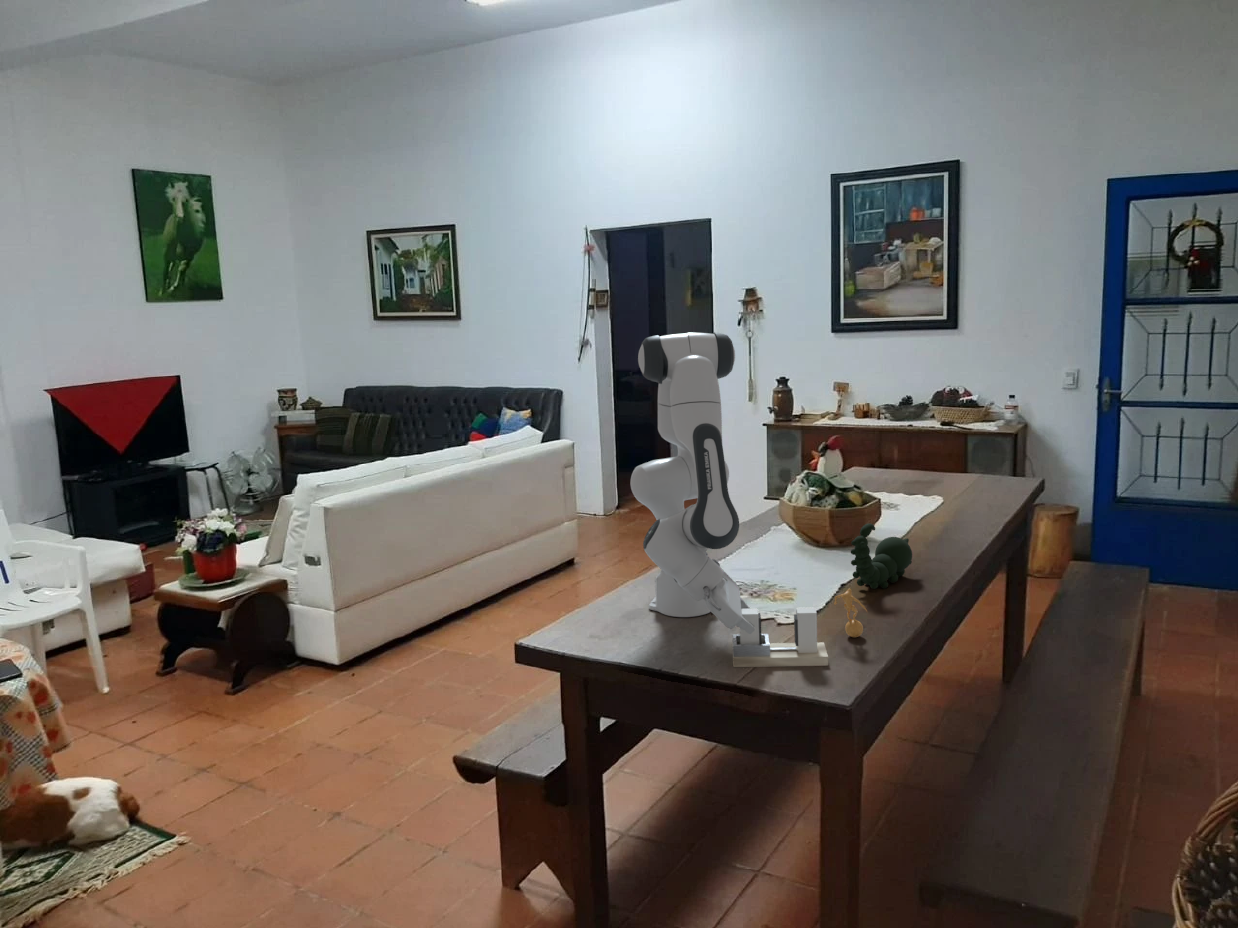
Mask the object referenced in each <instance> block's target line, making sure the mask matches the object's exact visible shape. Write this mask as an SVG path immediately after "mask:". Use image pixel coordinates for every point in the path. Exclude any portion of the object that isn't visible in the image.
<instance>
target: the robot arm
mask: <svg viewBox="0 0 1238 928" xmlns="http://www.w3.org/2000/svg"><path fill="white" fill-rule="evenodd" d="M637 357H638V358H637V362H638V367H639V368H640V372H641V375H642V376H643V377H644V378H645V379H646V380H649V381H651V382H656V383H658V387H657V431H658V434H659V435H660V437H661V438H662V439H663V440H665V441H666V442H668V443H670V444H672V445H674V446H676V448H677V455H676V456H672V457H666V458H659V459H652V460H650V461H648V462H647V461H646V462H644V463H642V464H639V465H637V466H635V467H634V469H633V471H632V473H631V476H630V480H629V481H630V489H631V492H632V494H633V497H635V499H636V501H638V502H639V503H640V504H641V505H643V506H645V507H646V508H647V509H649V510H650V512H651V513H652V514H653V516H654V518H655V519H656V520H655V522H653V524H652V525H651V526H650V528H649V529H648V531H647V533H646V534H645V537H644V539H643V545H642V546H643V550H644V552H645V553H646V555H647V556H648V557H649V559H650V560H651V561H652V562H653V563H654V564H655V565H656V566H657V567H658V568H660V572H659V573H658V574H657V575H656V577H655V580H654V584H655V586H654V587H655V596H654V597H653V599H652V600H651V602H650V603H649V604H648V609H649V610H652V611H655V612H659V613H660V614H662V615H665V616H669V617H677V618H691V617H699V616H703V615H706V614H709V613H712V615H714V616H715V617H716V618H717V620H719V621H720V622H721V623H722V624H723V625H724V626H725V627H727V628H728V629H730V630H733V629H734V628H736V627H738V628H739V629H740V628H741V629H743V630H745V631H746V632H747V633H748V634H751V633H752V632H753V631H754V630H755V627H754V625H753V624H752V623H751V622H750V621H749V622H748V621H747V620H746V619H744V617H743V616H742V611H741V609H750V608H751V607H749V605H748V604H747V603H746V601H745V600H744V599H743V598H742V597H741V591H740V589H741V588H740V587H739V586H738V584H737V583H736V582H735V581H734V580H733V578H732V577H730V575H729V574H728V573H727V572H726V571H724V569H723V568H722V567H721V564H720V562H718V561H717V560H716V559H715V558H711V557H710V556H708V552H707V551H708V550H709V549H711V550H720V549H723V548H726V547H728V546H729V545H731V544H732V543H733V542H734V540H736V538H737V536H738V533H739V530H740V518H739V514H738V512H737V510H736V508H735V506H734V504H733V502H732V500H731V497H730V493H729V488H728V483H729V478H730V470H729V466H728V463H727V462H726V459H725V455H724V447H723V431H722V430H723V427H722V426H723V425H722V424H723V423H722V422H723V419H722V417H723V416H722V403H721V402H722V400H721V391H720V385H719V384H720V383H719V380H720V379H722V378H725V377H727V376H729V374H731V372H732V371H733V368H734V366H735V365H734V364H735V361H736V350H735V347H734V343H733V340H732V339H731V338H730V336H729V335H727V334H724V333H722V332H721V333H720V332H713V333H708V332H695V331H693V332H692V331H691V332H689V331H688V332H685V333H673V334H672V333H671V334H664V335H661V336H660V335H658V334H657V335H652V336H651V335H650V336H648V337H645V338H644V340H643V341H642V342H641V345H640V348H639V350H638V356H637ZM693 499H697V500H696V503H695V504H694V503H693V504H691V505H689V506H687V507H686V508H685V501H688V500H693Z"/></svg>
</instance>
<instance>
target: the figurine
mask: <svg viewBox="0 0 1238 928" xmlns="http://www.w3.org/2000/svg"><path fill="white" fill-rule="evenodd" d="M852 591H853V590H852V589H851V588H847V590H846V591H845V592H844V593H841V594H838V595H836V596H834V601H833V604H834V605H833V606H836V605H837V604H838V602H837V600H838V599H841V598H842V601H843V602H844V604H843V607H844V609H845V610H846V612H847V613H846V617H847V619H848V621H847V622H846V624H845V627H844V628H845V632H846V634H847V635H848V636H849V637H851V638H859V637H860V636H861V635H862V634H863V632H864V626H863V624H862V623H861V621H859V620H857V619H856V617H857V614H858V613H859V611H858V609H857V608H856V605H854V604H853V601H854V602H856V603H857V604H859V606H860V607H861V608H862V609H864V610H865V611H866V613H868V610H867V608H866V606H865V605H864V604H863V603H861V601H860V600H859V599H857V598H856V597H855V596H853V594H852ZM851 611H852V612H854V613H853V615H852V618H851V617H850V615H851Z"/></svg>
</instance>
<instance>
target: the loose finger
mask: <svg viewBox="0 0 1238 928" xmlns="http://www.w3.org/2000/svg"><path fill="white" fill-rule="evenodd" d="M741 611H742V616H743V617H744V619H746V620H747V621H748V622H749V621H750V622H751V623H752V624H753V625H754V627H755V630H754V631H753V632H752V633H751V634H748V633H747V632H746V631H745V630H743V629H741V628H739V634H740V645H743V644H762V638H761V634H762V616H761V612H759V609H758V608H757V607H756V608H755V607H753V608H751V607H750V609H741Z"/></svg>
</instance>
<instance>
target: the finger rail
mask: <svg viewBox="0 0 1238 928" xmlns="http://www.w3.org/2000/svg"><path fill="white" fill-rule="evenodd" d="M795 613H796V614H793V623H794V624H793V625H794V633H793V634H794V642H774V643H773V642H771V643H770V639H769V633H761V638H762V644H743V645H740V633H737V634H733V633H732V644H731V645H732V646H731V647H732V651H731V652H732V663H733V664H732V666H733V668H748V667H749V668H759V667H760V668H761V667H762V668H763V667H765V668H767V667H815V666H816V667H818V666H819V667H820V666H821V667H822V666H825V667H826V666H829V655H828V653H827V652H828V651H827V648H826V644H825V641H822V642H818V613H817V609H816V607H815V606H814V607H813V606H808V607H807V606H805V607H803V606H802V607H800V606H799V607H795Z"/></svg>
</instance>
